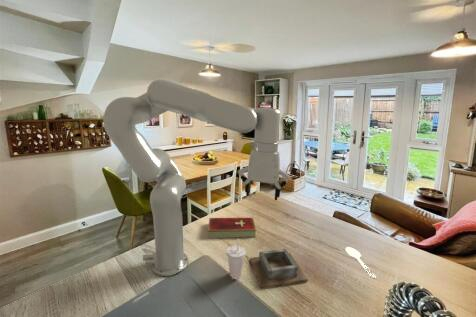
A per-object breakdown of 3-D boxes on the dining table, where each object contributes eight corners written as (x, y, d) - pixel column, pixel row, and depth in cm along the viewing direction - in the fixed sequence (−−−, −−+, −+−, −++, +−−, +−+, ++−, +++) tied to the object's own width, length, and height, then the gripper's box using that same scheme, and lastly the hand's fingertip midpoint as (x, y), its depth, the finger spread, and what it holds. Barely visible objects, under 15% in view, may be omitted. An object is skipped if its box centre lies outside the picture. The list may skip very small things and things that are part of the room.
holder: (261, 288, 75) (262, 276, 74) (250, 260, 88) (250, 249, 87) (307, 281, 78) (308, 270, 77) (289, 255, 91) (290, 245, 90)
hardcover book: (209, 225, 113) (209, 217, 112) (252, 224, 115) (252, 216, 114) (207, 238, 102) (207, 230, 101) (255, 238, 103) (256, 229, 102)
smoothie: (243, 284, 76) (244, 246, 73) (223, 281, 77) (224, 243, 74) (246, 270, 82) (247, 235, 79) (228, 268, 84) (229, 232, 80)
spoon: (366, 279, 80) (367, 278, 80) (341, 247, 98) (342, 246, 97) (382, 279, 80) (382, 277, 80) (354, 247, 98) (354, 246, 98)
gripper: (236, 146, 74) (234, 196, 78) (292, 152, 70) (286, 205, 74) (242, 143, 82) (240, 189, 85) (293, 147, 77) (288, 196, 81)
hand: (261, 196), depth 80 cm, fingers open, 9 cm apart
